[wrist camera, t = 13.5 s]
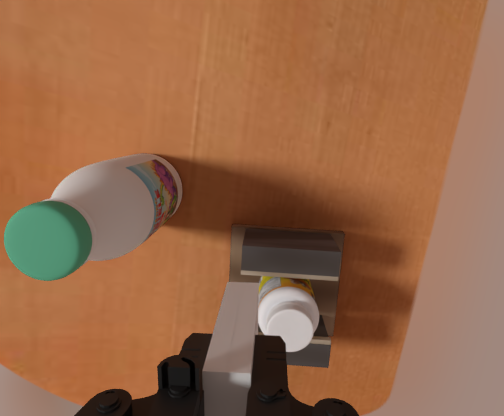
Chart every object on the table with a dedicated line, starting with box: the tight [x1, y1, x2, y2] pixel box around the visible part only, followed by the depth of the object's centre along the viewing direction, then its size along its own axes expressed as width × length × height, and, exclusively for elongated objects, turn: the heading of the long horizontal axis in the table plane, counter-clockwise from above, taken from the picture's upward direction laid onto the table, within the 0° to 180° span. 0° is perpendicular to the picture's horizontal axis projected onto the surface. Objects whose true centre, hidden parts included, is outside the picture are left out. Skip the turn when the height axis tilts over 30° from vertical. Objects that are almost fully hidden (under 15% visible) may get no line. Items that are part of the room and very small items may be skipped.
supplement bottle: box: [258, 276, 319, 352], centre depth 36 cm, size 6×6×10 cm
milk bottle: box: [4, 153, 182, 281], centre depth 31 cm, size 8×8×20 cm
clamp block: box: [229, 224, 345, 368], centre depth 39 cm, size 12×12×7 cm
